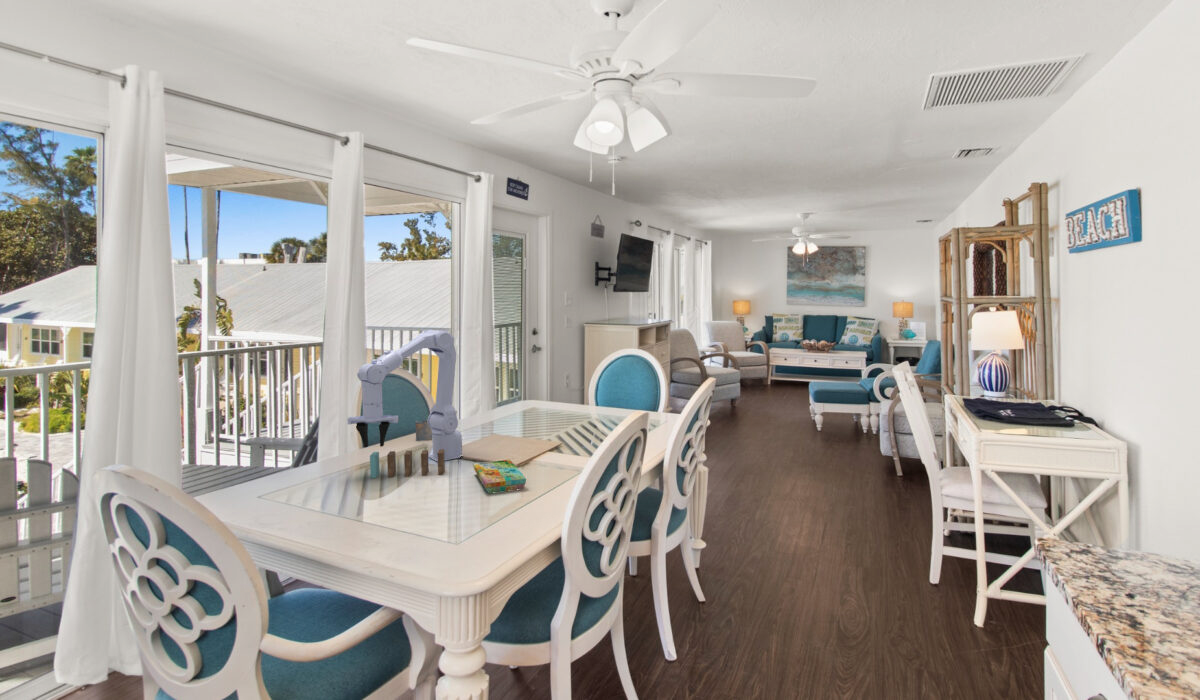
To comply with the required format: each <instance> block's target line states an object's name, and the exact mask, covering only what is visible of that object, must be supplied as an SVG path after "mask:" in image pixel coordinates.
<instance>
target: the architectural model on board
mask: <svg viewBox="0 0 1200 700" xmlns="http://www.w3.org/2000/svg"><path fill="white" fill-rule="evenodd" d="M415 441H416V442H422V441H423V442H424V441H427V442H428V441H432V432H431V428H430V427H429V426H428V423H427V420H421V421H418V420H415Z"/></svg>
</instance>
